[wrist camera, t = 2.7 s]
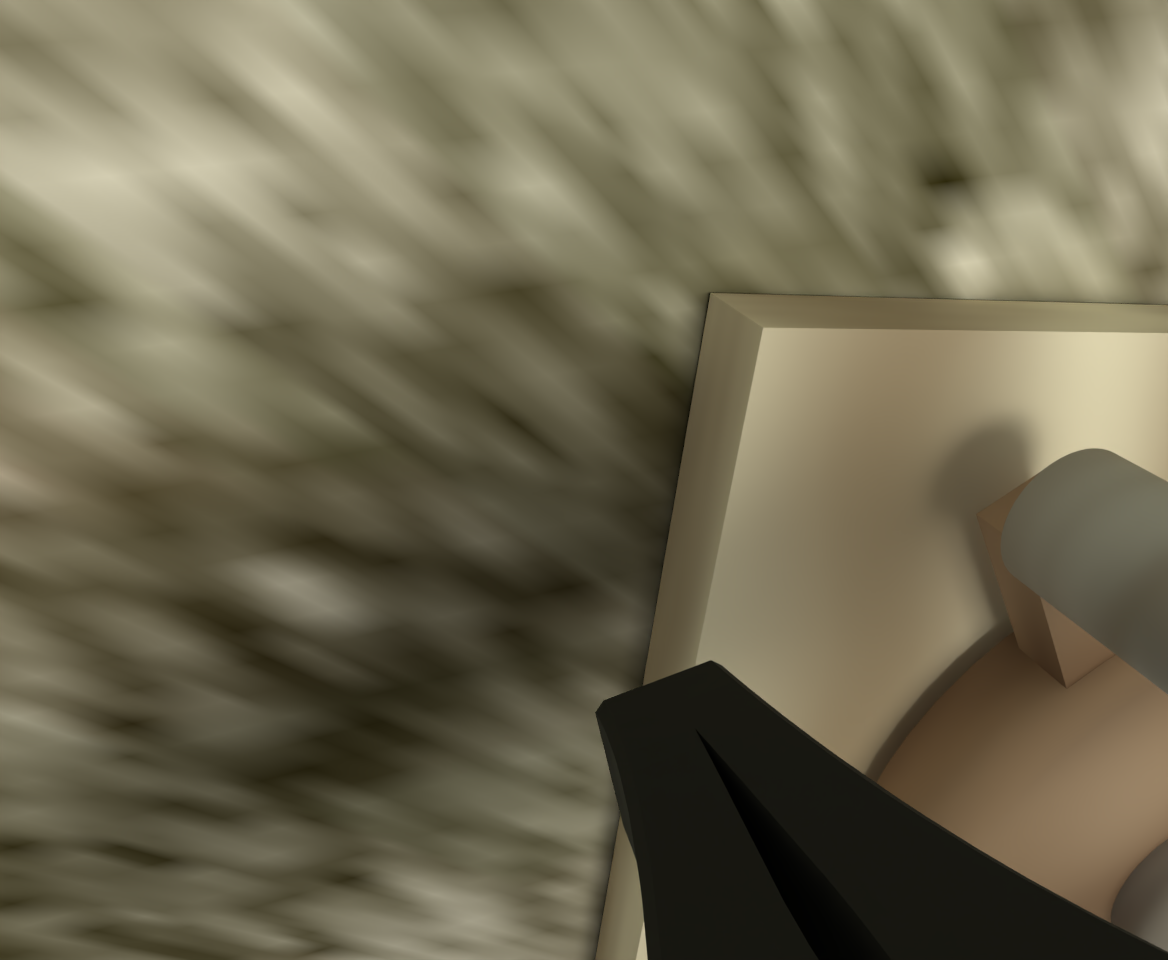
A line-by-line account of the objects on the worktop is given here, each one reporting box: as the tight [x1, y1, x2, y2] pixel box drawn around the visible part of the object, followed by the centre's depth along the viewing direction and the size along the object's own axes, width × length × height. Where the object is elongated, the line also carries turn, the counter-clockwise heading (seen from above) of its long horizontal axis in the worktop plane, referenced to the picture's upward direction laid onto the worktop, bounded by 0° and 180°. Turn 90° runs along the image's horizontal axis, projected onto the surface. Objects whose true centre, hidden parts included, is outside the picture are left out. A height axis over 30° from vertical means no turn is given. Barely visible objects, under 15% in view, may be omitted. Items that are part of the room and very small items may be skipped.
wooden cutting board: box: [595, 293, 1168, 960], centre depth 18 cm, size 17×18×2 cm
